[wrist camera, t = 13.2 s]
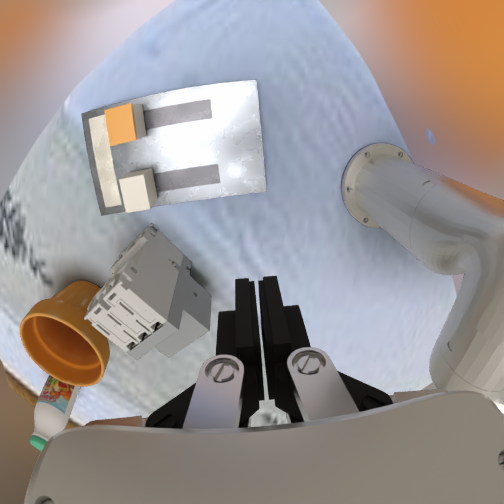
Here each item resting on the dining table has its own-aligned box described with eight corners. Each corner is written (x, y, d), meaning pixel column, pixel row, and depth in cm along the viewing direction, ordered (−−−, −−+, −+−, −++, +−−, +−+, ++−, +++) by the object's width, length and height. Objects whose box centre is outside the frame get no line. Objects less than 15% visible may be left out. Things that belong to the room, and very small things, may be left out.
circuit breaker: (186, 314, 47) (175, 386, 34) (119, 255, 42) (82, 317, 28) (220, 288, 45) (219, 360, 32) (151, 223, 40) (118, 279, 27)
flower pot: (66, 330, 47) (40, 379, 36) (45, 264, 41) (5, 309, 29) (132, 336, 49) (115, 392, 37) (117, 265, 42) (87, 318, 31)
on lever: (152, 168, 34) (143, 174, 30) (157, 199, 36) (150, 209, 32) (129, 172, 34) (118, 179, 30) (135, 202, 36) (126, 213, 32)
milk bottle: (87, 384, 54) (64, 458, 37) (68, 390, 55) (45, 457, 38) (64, 362, 51) (33, 436, 33) (46, 369, 52) (16, 436, 34)
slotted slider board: (254, 81, 33) (256, 79, 30) (264, 186, 39) (266, 191, 37) (89, 113, 32) (81, 113, 30) (107, 209, 38) (101, 215, 36)
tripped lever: (142, 104, 30) (130, 103, 26) (146, 136, 32) (136, 140, 28) (118, 109, 30) (104, 110, 26) (123, 141, 32) (109, 146, 28)
